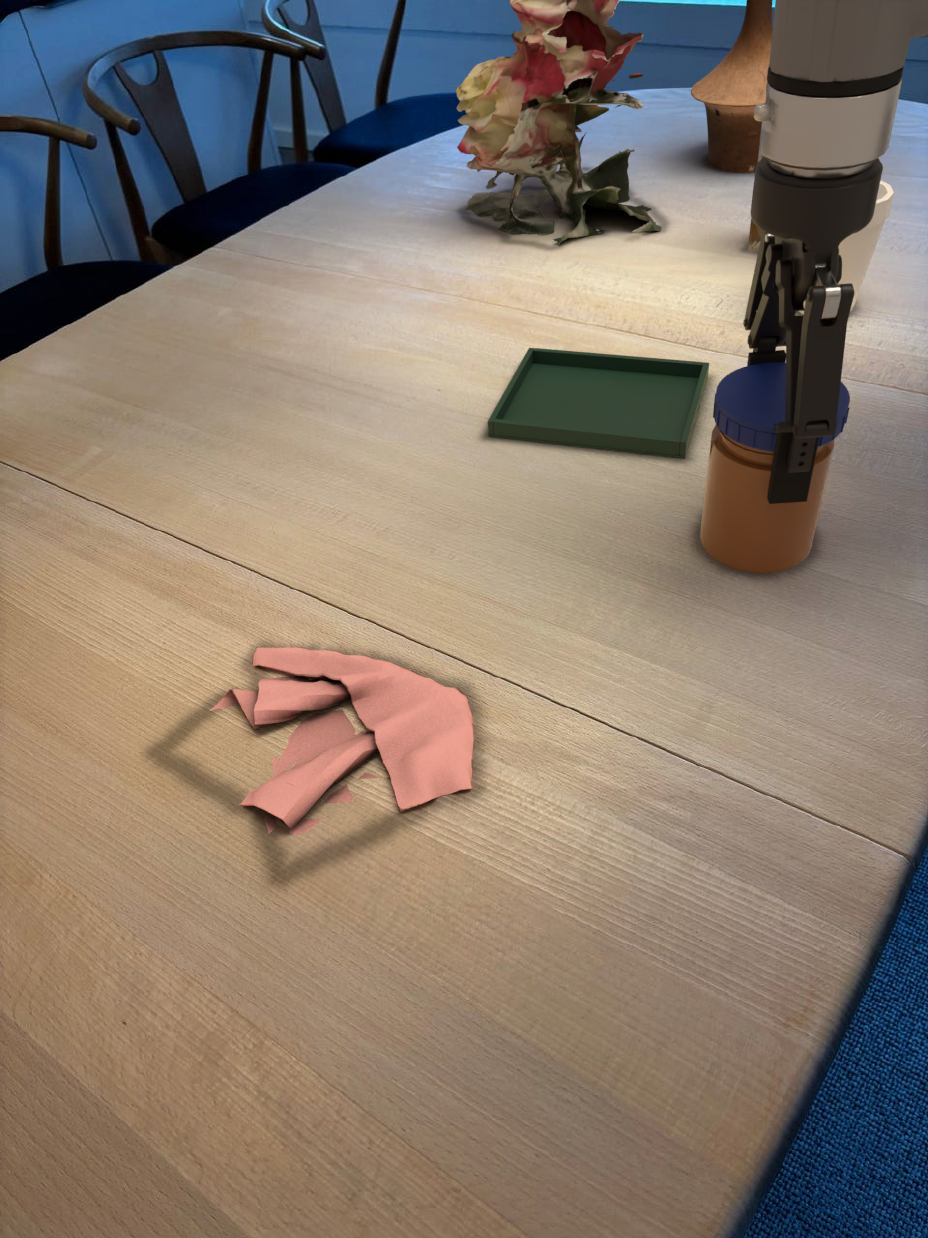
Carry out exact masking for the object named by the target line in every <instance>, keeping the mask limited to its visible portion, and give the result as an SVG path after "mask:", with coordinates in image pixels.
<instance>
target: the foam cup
mask: <svg viewBox="0 0 928 1238" xmlns="http://www.w3.org/2000/svg"><path fill="white" fill-rule="evenodd" d="M894 193H895V192H894V190H893V187H892V185H891V184H889V183H887V182H885V181H883V180H882V179H881V180H880V185H879V190H878V195H877V200H876V205H875V210H874V214H873V218H872V220H871V221H870V223H869V224H868V225H867V226H866V227H865V228H864V229H862V230H861V231H859V232H857V233H853V234H852V235H850V236H848V237H847V238H845V239H844V240H843V241H842V242H841V243H840V245H839V246H838V248H839V255H841V258H842V277H841V280H840V281H839V283H838V284H849V283H852V284H853V288H854V297H853V301H852V305H851V309H850V313H851V312H852V311H853V309H854V307H855V304H856V302H857V299H858V296H859V294H860V291H861V288H862V286H863V283H864V279H865V277H866V275H867V272H868V269H869V265H870V263H871V261H872V257H873V254H874V252H875V250H876V247H877V243H878V242H879V238H880V236H881V233H882V230H883V227H884V225H885V222H886V220H887V219H888V218H889V216H890V212H891V208H892V203H893V199H894ZM797 312H799V313H800V314H801V315H804V311H797Z"/></svg>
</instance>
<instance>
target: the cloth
mask: <svg viewBox="0 0 928 1238" xmlns="http://www.w3.org/2000/svg"><path fill="white" fill-rule="evenodd" d="M252 658H253V659H252V665H253V667H257V666H259V667H263V668H268V669H272V670H276V671H279V672H284V673H287V674H291V676H290V675H289V676H280V677H279V676H278V677H272V678H271V677H270V678H260V680H258V691H254V690H247V689H239V688H231V689H229V690H228V691H227V692H226V693H225V695H224V696H223V697H222V698H221V699H220V700H219V701H218V702H217V704H215V705H214V706H213V707H212V708H210V709H209V710H208V712H210V711H215V710H219V709H223V708H227V707H228V708H229V707H232V706H236V705H239V707H240V708H241V710H242V711H243V713H244V715H245V717H246V719H247V721H248V723H249V724H250V725H251V727H252V728H253V730H256V729H258V728H260V727H262V726H263V725H270V724H278V723H283V722H288V721H291V720H293V719H296V718H299V717H300V716H302V715H304V714H307V713H309V712H311V711H318V710H326V709H329V708H333V707H336V706H338V705H342V704H343V703H344V702H346V701H347V700H349V699H350V700H351V704H352V706H353V709H354V710H355V713H356V715H357V717H358V719H360V721H361V722H362V723H363V725H364V726H365V728H366V730H369V731H359V732H358V733H356V730H357V729H356V728H355V726H354V725H353V722H351V721H350V718H349V717H348V716H347V715H346V713H345V712H344V710H343V709H336V710H331V711H323V712H315V713H313V714H311V715H310V716H308V717H307V718H304V719H302V721H301V722H300V723H298V725H297V727H296V728H295V729H294V731H293V732H292V733H291V734H290V736H288V741H287V745H286V747H285V748H284V750H283V752H282V754H281V756H280V757H279V759H277V758H276V757H275V756H274V755H273V754H271V761H272V773H273V777H272V778H270V779H268V780H267V781H266V782H264V783H263V784H260V786H257V787H256V788H255V789H253V790H251V791H249V793H248V794H247V795H246V797H245V798H244V799H243V800H242V802H241V803H239V805H240V806H242V807H253V806H254V807H256V808H258V809H261V810H263V811H265V812H266V814H265V816H264V817H263V820H264V823H265V826H266V829H267V834H268V835H270V833H272V832H273V830H275V828H276V819H277V820H278V821H280V822H281V823H283V824H284V825H285V826H287V827H288V828H289V830H288V832H289V833H290V835H291V836H296V835H301V834H305V833H307V832H309V831H310V830H311V829H313V828H314V827H315V826H317V825H318V824H319V823H321V822H322V821H323V818H322V817H321V818H304V816H306V814H307V813H308V812H309V811H310V810H311V809H312V807H313V806H314V805H315V804H316V803H317V801H319V799H320V798H321V797H322V796H323V795H324V794H325V792H326V791H327V790H328V789H329V788H331V787H332V786H334V785H335V784H337V783H338V782H339V781H341V780H342V779H344V778H345V777H346V776H348V775H349V774H351V773H352V772H353V771H355V770H356V769H358V767H360V766H362V765H363V764H364V763H365V762H367V761H368V760H369V759H371V758H372V757H373V756H374V755H376V754H377V753H378V752H379V755H380V758H381V761H382V763H383V766H384V767H385V769H386V771H387V772H388V774H389V776H388V777H386V778H385V779H386V780H388V781H390V782H391V786H392V789H393V791H394V794H395V801H396V803H397V805H398V809H399V811H400V813H401V812H404V811H406V810H409V809H412V808H414V807H418V806H421V805H423V804H425V803H428V802H429V801H431V800H434V799H436V798H439V797H442V796H447V795H451V794H453V793H456V792H459V791H464V790H472V788H473V786H472V780H473V774H474V764H473V763H474V761H473V753H474V748H475V747H474V746H475V737H474V727H473V725H474V722H473V721H474V717H473V716H474V714H473V712H472V709H471V707H470V705H469V704H470V703H469V696H468V695H466V694H465V693H464V692H463V691H461V690H460V689H459V688H458V687H452V686H451V687H450V686H445V685H443V684H440V683H438V682H436V681H435V680H434V679H433V678H429V677H426V676H422V675H419V674H416V673H415V672H413V671H411V670H408V669H406V668H404V667H401V666H398V665H396V664H394V663H392V662H390V661H386V660H382V659H375V658H372V657H369V656H366V655H359V654H343V653H341V652H338V651H334V650H326V649H314V650H312V649H308V648H303V647H295V646H294V647H293V646H292V647H288V646H287V647H257V648H256V649H255V652H254V655H253V657H252ZM308 677H310V678H313V679H310V678H308ZM319 678H320V679H319ZM321 678H322V679H321ZM327 678H328V679H327ZM369 779H381V777H380V776H378V775H374V774H372V773H368V772H364V773H363V774H362V775H361V776H359V777H358V778H357V780H369ZM340 803H355V799H354V797H353V795H352V793H351V790H350V789H349V786H348V784H344V785H342V786H341V787H340V788H339V789H337V790H335V791H334V792H332V793H331V794H329V796H328V797H327V798H326V799H325V800H324V801H323V802H322V804H323V805H324V804H340Z"/></svg>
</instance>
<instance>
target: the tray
mask: <svg viewBox="0 0 928 1238" xmlns="http://www.w3.org/2000/svg"><path fill="white" fill-rule="evenodd" d="M709 371H710V362H705V361H694V360H685V359H684V360H682V359H670V358H661V357H660V358H659V357H658V358H657V357H648V356H646V357H645V356H635V355H622V354H611V353H599V352H587V351H577V350H576V351H575V350H565V349H564V350H563V349H562V350H561V349H553V348H540V347H528V349H527V351H526V352H525V354H524V355H523V358H522V359H521V361H520V362H519V365H518V366H517V369H516V370H515V372H514V374H513V375H512V376H511V379H510V380H509V382H508V384H507V386H506V388H505V389H504V392H503V393H502V395H501V396H500V399H499V400H498V401H497V404H496V405H495V407H494V409H493V411H492V413H491V415H490V416H489V418H488V420H487V433H488V434H487V435H488V437H489V438H495V439H503V440H505V439H506V440H512V441H520V442H521V441H522V442H531V443H541V444H548V445H549V444H550V445H558V446H566V447H567V446H568V447H576V448H585V449H594V450H602V451H612V452H618V453H627V454H629V453H631V454H637V455H646V456H655V457H664V458H673V459H681V460H685V459H686V457H687V454H688V450H689V446H690V443H691V440H692V435H693V433H694V428H695V425H696V422H697V418H698V414H699V411H700V407H701V404H702V400H703V397H704V393H705V390H706V386H707V382H708V379H709Z"/></svg>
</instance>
